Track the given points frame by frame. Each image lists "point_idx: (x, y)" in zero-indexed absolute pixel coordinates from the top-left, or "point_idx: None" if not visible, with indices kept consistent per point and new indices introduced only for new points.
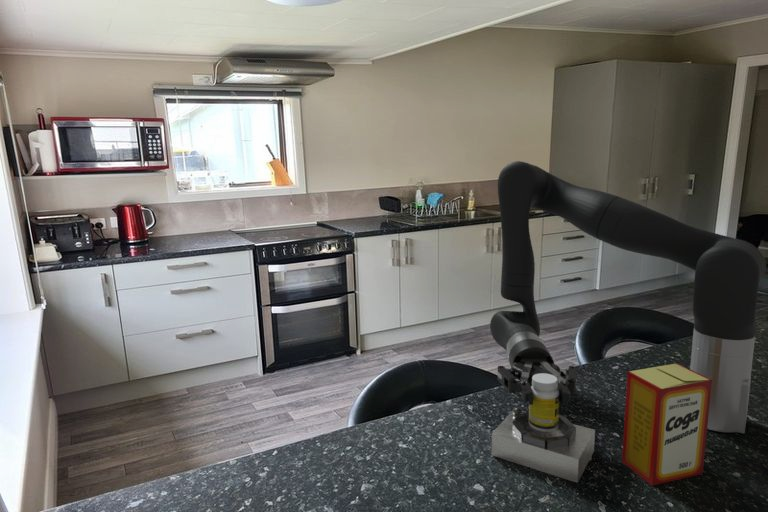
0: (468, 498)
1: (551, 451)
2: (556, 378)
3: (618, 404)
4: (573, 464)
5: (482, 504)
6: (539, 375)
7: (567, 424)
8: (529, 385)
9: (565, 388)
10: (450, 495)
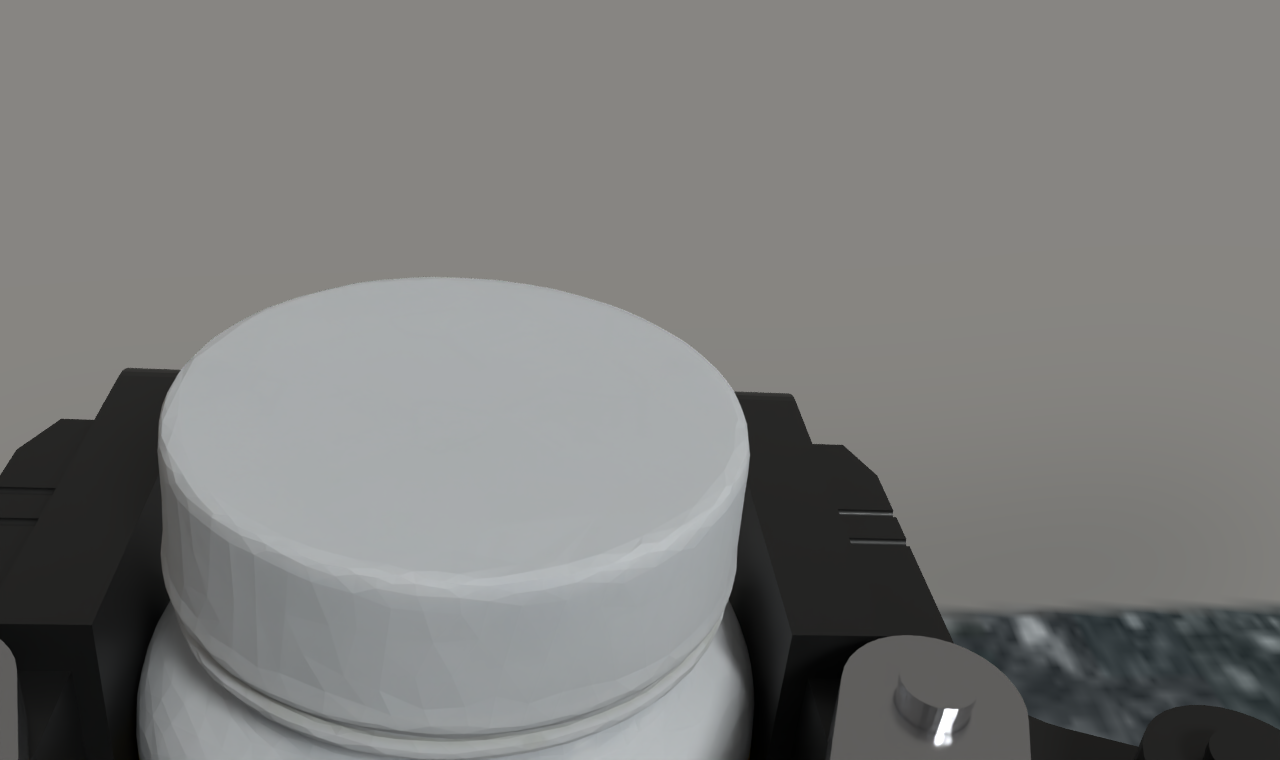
0: (1065, 656)
1: None
2: (189, 380)
3: None
4: None
5: (964, 617)
6: (564, 485)
7: None
8: (781, 538)
9: (13, 550)
10: (1187, 675)
